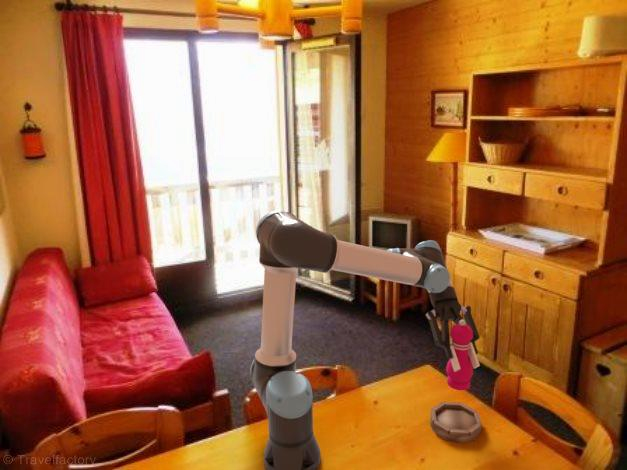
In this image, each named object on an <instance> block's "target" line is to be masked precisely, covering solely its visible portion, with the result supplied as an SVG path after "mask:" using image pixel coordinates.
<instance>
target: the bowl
mask: <svg viewBox="0 0 627 470" xmlns="http://www.w3.org/2000/svg"><path fill="white" fill-rule="evenodd" d="M429 421H430V422H429V423H430V424H429V425H430V427H431V429H432V431H433V432H434V433H435V434H436V435H437V436H439V437H440V438H442V439H444V440H446V441H449V442H453V443H460V444H461V443H462V444H463V443H470V442H473V441H475V440H476V439H478V438H479V436H480V434H481V431H482V430H481V429H482V425H483V423H482V420H481V417H480V414H479V412H478V410H476V409H473V408H472V407H470V406H468V405H466V404H465V403H463V402H462V403H461V402H455V401H443V402H440V403H438V404H436V405H435V406H433V407H432V408H430V420H429Z"/></svg>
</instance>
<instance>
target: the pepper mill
mask: <svg viewBox="0 0 627 470" xmlns="http://www.w3.org/2000/svg"><path fill="white" fill-rule="evenodd" d="M449 337H450V338H451V345H453V347H454V350H455V353H456V356H457V359H458V362H459V365H460V368H461V369H459V370H458V371H455V372H454V369H453V366H452V363H451V360H450V359H448V362H447V364H446V367H445V368H446V369H445V372H446V374H447V377H446V378H447V379H446V384H447V386H449V388H451V389H453V390H456V391H466V390H468V389H469V388H470V387H471V378H472V377H473V375H474V370H473V366H472V364H471V361H470V358H469V355H468V349H469V348H470V344H471V342H470V341H471V340H472V338H473V331H472V329H471V328H470V327H469V326H468V325H467V324H466V322H465V319H462V320H460V321H459V324H454V325H453V326H452V327H451V328H450V330H449Z"/></svg>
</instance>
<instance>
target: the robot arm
mask: <svg viewBox="0 0 627 470" xmlns="http://www.w3.org/2000/svg"><path fill="white" fill-rule="evenodd" d="M255 235H256V239H257V243H258V244H259V265H261V266H262V267H263V268H264V270H263V271H264V273H263V276H264V277H263V294H262V312H261V313H262V317H261V339H260V348H258V349H257V350H256V351H255V353H254V358H253V360H252V363H251V365H250V370H249V372H250V373H249V375H250V380H251V383H252V386H253V387H254V389H255V390H256V391H255V392H256V394H257V395H258V397H259V399H260V401H261V404H262V405H263V407H264V409H265V412H266V415H267V422H268V423H267V424H268V438H267V442H266V446H265V448H264V453H263V465H264V468H265V470H319V469H318V468H319V467H320V465H321V459H322V458H321V457H322V455H321V447H320V445H319V442H318V440H317V438H316V436H315V433H314V419H313V418H314V415H313V414H314V413H313V407H314V406H313V397H314V395H313V390H312V385H311V383H310V381H309V379H308V378H307V377H306V376H305V375H303V374H302V373H298V372H296V371H297V370H296V368H297V353H296V351H294V350H293V348H292V347H293V346H292V345H293V344H292V343H293V329H294V315H295V314H294V313H295V300H296V298H295V297H296V282H297V271H298V269H300V270H308V271H314V272H319V273H323V274H325V273H326V274H327V273H329V272H331V271H334V272H335V271H336V272H340V273H341V272H342V273H347V274H352V275H358V276H363V277H366V278H371V279H379V280H382V281H383V280H384V281H389V282H394V283H397V284H398V283H400V284H403V285H410V286H412V287H419V288H423V289H424V290H426V291H427V292H428V296H429V299H430V302H431V306H432V310H429V311H428V312H427V313H426V314H424V315H425V317H426V319H427V321H428V322H429V325H430V328H431V332H432V336H433V340H434V344H435V346H436V347H437V348H439V347H440V348H441V349H442V350H444V353H445V357H446V359H448V360H451V363H452V366H453V369H454V372H455V371H458V370H459V369H461V368H460V365H459V362H458V359H457V356H456V353H455V350H454V347H453V345H452V344H451V343H450V342H451V340H450V329H449V321H451V322H453V324H454V325H456V324H459V321H460V320H464V321H465V322H466V325H468V326H469V327H470V328H471V329H472V331H473V338H472V340H471V341H470V342H471V344H470V348H469V349H468V358H469V360H470V362H471V365H472V368H473V369H477V368H478V367H480V366H481V365H480V362H479V360H478V359H479V358H478V354H479V352H478V347H477V346H476V341H478V340H480V334H479V331H478V329H477V326H476V323H475V321H474V318H473V315H472V308H471V306H470V305H466V306H463V305H461V303H460V302H459V300H458V296H457V295H458V294H457V292H456V290H455V288H454V287H453V286H454V283H453V282H452V278H451V273H450V272H449V269H448V267H447V263H446V259H445V256H444V254H443V252H442V249H441V247H440V245H439V243H438V241H436V240H431V239H430V240H429V239H428V240H424V241H421V242H419V243H417V244H416V246H415V247H414V248H403V247H402V248H399V247H396V248H388V249H386V250H384V249H381V248H380V249H378V248H375V247H371V246H370V247H369V246H366V245H361V244H357V243H352V242H347V241H343V240H339V239H337V237H336V235H335V234H331V233H327V232H323V231H321V230H319V229H317V228H316V227H315V228H314V227H313V226H312V225H309V223H306V222H304V221H303V220H302V219H299V218H298V217H296V215H294V213H291V212H288V211H285V210H280V209H279V210H278V209H277V210H272V211H270V212H268V213H266V214H265V215H263V217H261V219H259V221H258V223H257V226H256V229H255ZM462 315H463V317H462ZM437 317H438V318H439V322H440V323H438V321H437ZM463 318H464V319H463ZM439 324H440V327H441V328H440V327H439ZM440 329H441V330H440Z"/></svg>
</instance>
